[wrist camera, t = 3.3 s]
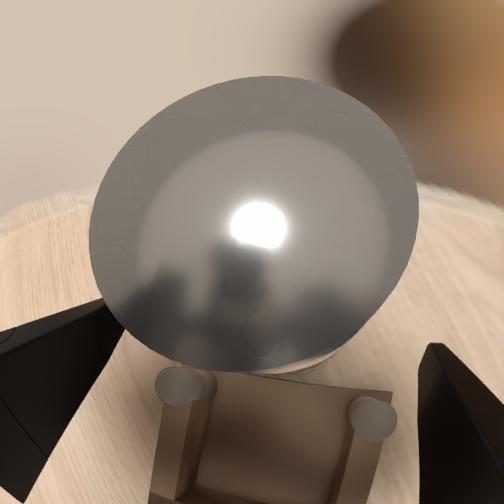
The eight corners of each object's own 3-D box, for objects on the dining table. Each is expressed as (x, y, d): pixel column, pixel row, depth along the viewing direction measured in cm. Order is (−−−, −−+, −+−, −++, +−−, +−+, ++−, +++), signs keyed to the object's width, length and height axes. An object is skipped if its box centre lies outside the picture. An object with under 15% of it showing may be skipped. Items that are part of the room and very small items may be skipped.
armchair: (350, 539, 11) (357, 577, 7) (161, 500, 14) (123, 522, 10) (390, 391, 15) (414, 396, 11) (186, 360, 18) (149, 353, 14)
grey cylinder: (336, 380, 16) (410, 397, 3) (238, 365, 17) (53, 322, 5) (349, 284, 18) (400, 84, 5) (256, 273, 19) (151, 87, 6)
